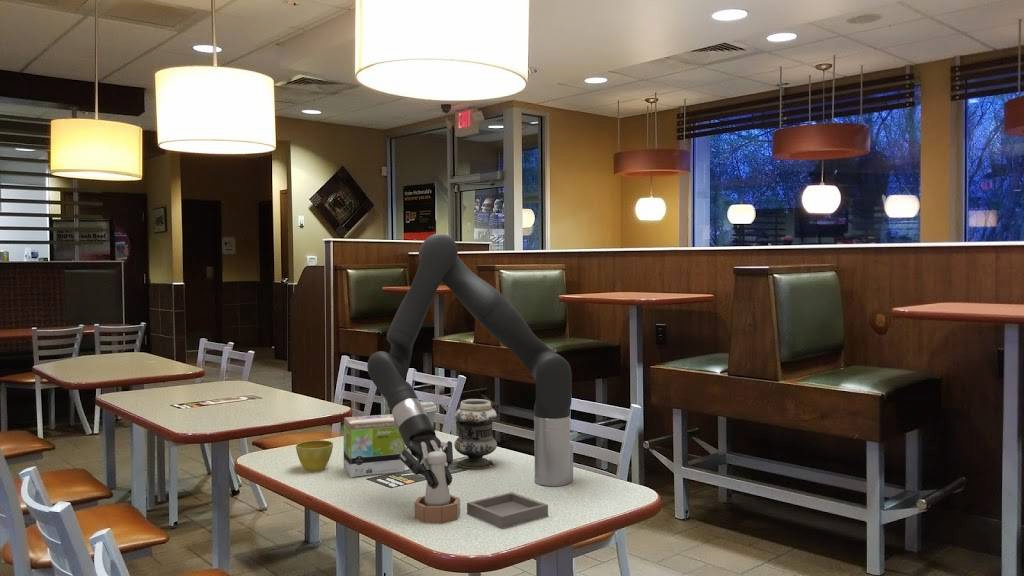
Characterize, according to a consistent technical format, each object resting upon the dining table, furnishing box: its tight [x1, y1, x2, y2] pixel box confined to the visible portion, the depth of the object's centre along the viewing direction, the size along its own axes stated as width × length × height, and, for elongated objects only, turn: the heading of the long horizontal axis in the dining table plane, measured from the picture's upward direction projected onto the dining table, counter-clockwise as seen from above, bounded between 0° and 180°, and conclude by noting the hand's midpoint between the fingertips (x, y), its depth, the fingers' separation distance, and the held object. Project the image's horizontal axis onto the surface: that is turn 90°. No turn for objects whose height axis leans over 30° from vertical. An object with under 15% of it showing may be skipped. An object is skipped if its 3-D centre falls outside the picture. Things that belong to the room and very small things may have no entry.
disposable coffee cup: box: [420, 401, 437, 427], centre depth 238 cm, size 11×11×15 cm
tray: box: [466, 491, 549, 529], centre depth 176 cm, size 13×13×2 cm
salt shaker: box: [424, 450, 451, 506], centre depth 176 cm, size 6×6×13 cm
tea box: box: [343, 413, 406, 478], centre depth 215 cm, size 15×10×15 cm, turn 114°
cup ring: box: [413, 494, 461, 524], centre depth 176 cm, size 10×10×4 cm
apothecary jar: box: [453, 398, 498, 470], centre depth 221 cm, size 12×12×18 cm
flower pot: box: [295, 439, 334, 473], centre depth 217 cm, size 10×10×7 cm
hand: (442, 484), depth 175 cm, fingers closed on salt shaker, 3 cm apart
